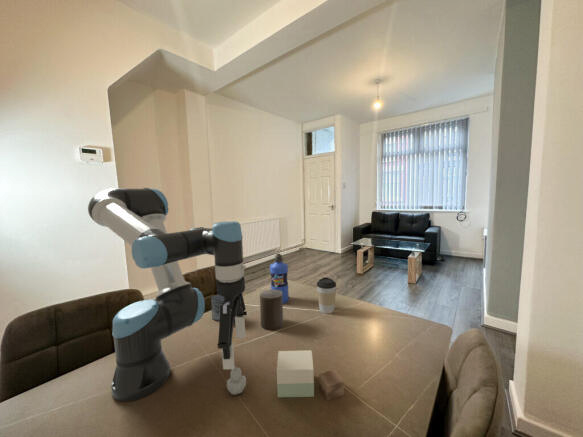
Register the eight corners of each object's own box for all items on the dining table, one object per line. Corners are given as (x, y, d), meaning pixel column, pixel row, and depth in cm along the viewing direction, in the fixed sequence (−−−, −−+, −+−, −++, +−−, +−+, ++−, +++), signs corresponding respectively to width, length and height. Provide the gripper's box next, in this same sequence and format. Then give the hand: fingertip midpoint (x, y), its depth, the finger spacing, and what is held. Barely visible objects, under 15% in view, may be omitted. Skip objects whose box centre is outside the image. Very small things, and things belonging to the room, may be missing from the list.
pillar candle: (268, 333, 97) (267, 297, 96) (256, 323, 105) (255, 290, 103) (287, 324, 103) (287, 290, 102) (274, 316, 111) (274, 284, 109)
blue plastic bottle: (273, 296, 132) (271, 252, 129) (289, 296, 131) (288, 251, 128) (269, 304, 123) (267, 256, 120) (287, 304, 122) (286, 256, 119)
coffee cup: (338, 314, 110) (337, 283, 108) (318, 315, 110) (317, 283, 108) (334, 305, 119) (334, 276, 117) (316, 306, 119) (315, 276, 117)
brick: (327, 400, 64) (327, 387, 64) (319, 387, 69) (319, 374, 69) (343, 395, 66) (343, 381, 66) (334, 382, 71) (334, 369, 70)
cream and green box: (277, 397, 66) (276, 370, 65) (279, 375, 74) (278, 351, 73) (314, 396, 66) (313, 369, 65) (312, 374, 74) (311, 350, 73)
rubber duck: (227, 401, 65) (225, 373, 64) (227, 383, 72) (225, 358, 71) (247, 396, 67) (245, 369, 66) (245, 379, 73) (244, 354, 72)
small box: (238, 318, 109) (237, 296, 108) (227, 325, 104) (226, 302, 103) (222, 313, 115) (221, 292, 114) (211, 319, 109) (210, 297, 108)
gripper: (232, 296, 53) (238, 385, 55) (252, 264, 78) (255, 326, 80) (198, 297, 53) (206, 386, 55) (229, 265, 78) (233, 327, 80)
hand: (235, 351), depth 68 cm, fingers open, 13 cm apart
